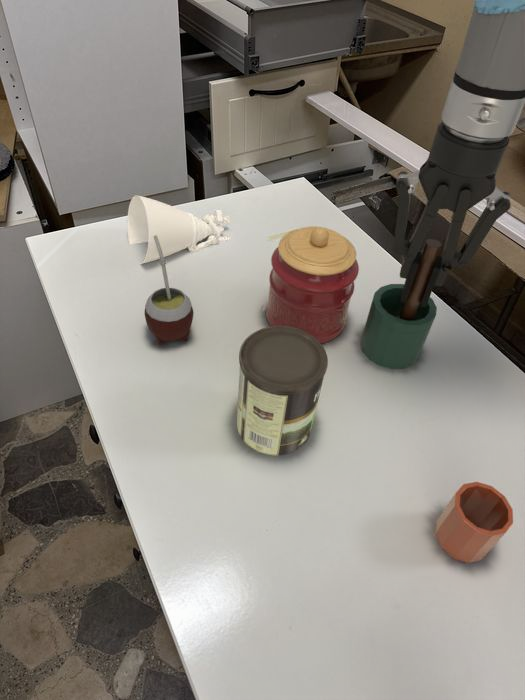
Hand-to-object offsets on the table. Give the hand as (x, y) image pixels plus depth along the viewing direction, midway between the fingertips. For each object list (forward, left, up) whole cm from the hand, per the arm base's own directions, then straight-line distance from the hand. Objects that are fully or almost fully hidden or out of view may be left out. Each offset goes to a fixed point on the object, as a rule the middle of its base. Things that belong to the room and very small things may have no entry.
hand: (413, 298), depth 72 cm
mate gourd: (+34, +8, -13) cm, 37 cm away
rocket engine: (+40, -13, -13) cm, 44 cm away
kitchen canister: (+15, -3, -12) cm, 20 cm away
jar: (+1, -1, -12) cm, 12 cm away
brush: (0, 0, -11) cm, 11 cm away
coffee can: (+14, +19, -13) cm, 26 cm away
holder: (-11, +27, -12) cm, 31 cm away
